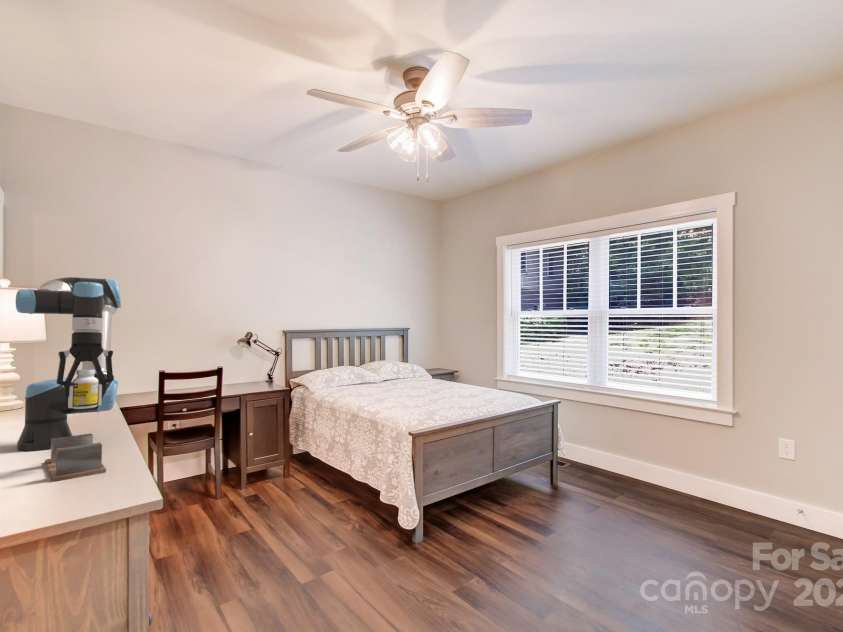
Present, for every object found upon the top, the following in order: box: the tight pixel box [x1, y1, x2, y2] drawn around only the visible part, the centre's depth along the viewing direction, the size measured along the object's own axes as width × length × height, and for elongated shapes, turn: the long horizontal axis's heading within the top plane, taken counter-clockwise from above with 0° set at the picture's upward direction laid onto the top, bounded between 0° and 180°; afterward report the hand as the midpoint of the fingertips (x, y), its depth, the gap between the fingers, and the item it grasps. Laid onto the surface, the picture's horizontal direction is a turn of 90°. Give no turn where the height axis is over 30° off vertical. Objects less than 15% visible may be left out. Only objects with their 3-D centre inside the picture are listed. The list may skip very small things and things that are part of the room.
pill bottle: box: [72, 369, 99, 409], centre depth 137 cm, size 6×6×12 cm
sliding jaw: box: [50, 433, 94, 464], centre depth 140 cm, size 7×10×7 cm
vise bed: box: [44, 442, 107, 482], centre depth 134 cm, size 24×12×8 cm, turn 44°
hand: (84, 406), depth 137 cm, fingers closed on pill bottle, 6 cm apart
